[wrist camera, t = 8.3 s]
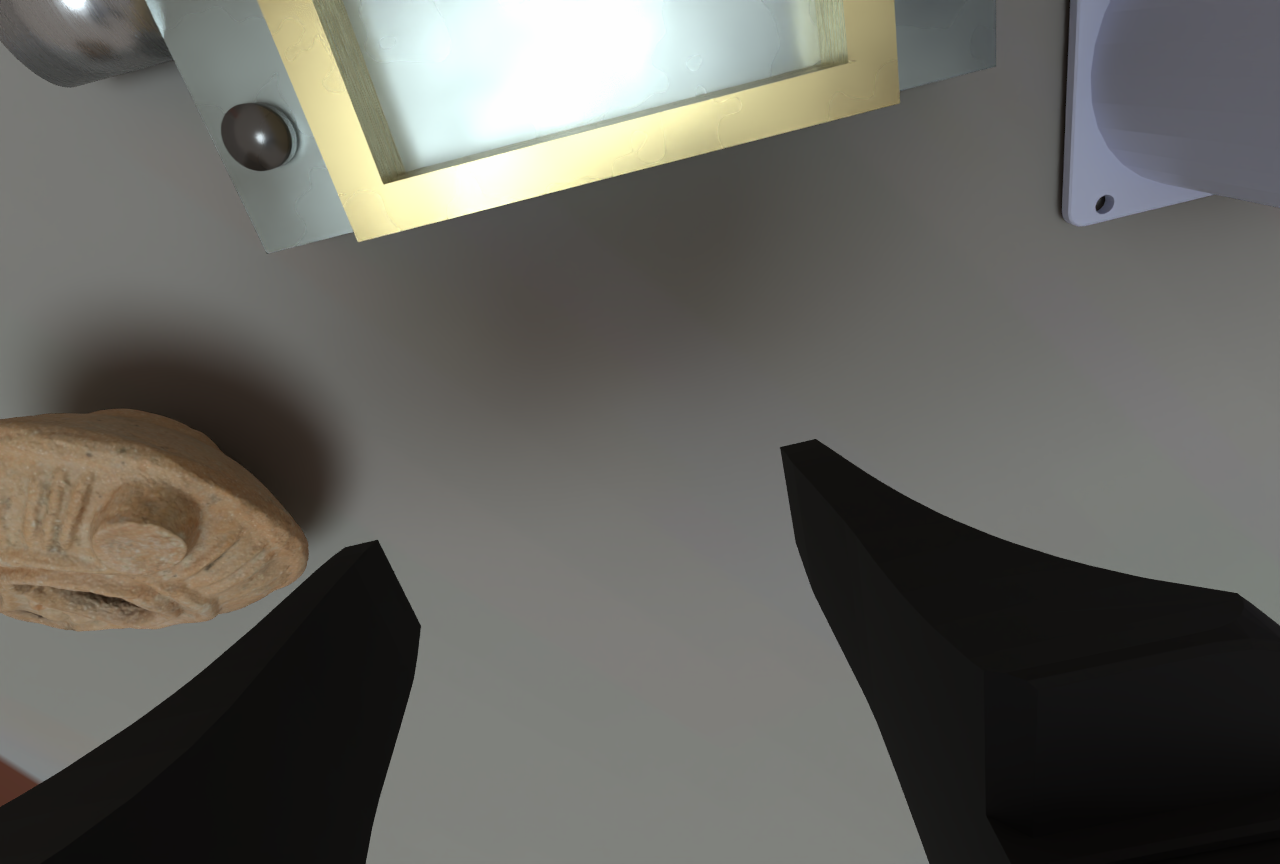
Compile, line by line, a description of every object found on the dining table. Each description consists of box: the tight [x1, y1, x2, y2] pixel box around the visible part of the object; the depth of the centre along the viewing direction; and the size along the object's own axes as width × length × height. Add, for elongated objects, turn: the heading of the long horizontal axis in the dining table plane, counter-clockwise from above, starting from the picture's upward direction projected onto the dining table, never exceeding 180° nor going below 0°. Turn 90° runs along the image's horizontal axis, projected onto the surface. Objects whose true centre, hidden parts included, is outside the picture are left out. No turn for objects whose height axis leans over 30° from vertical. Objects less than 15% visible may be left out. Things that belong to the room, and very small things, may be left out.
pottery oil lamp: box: [0, 409, 309, 631], centre depth 20 cm, size 9×12×7 cm
